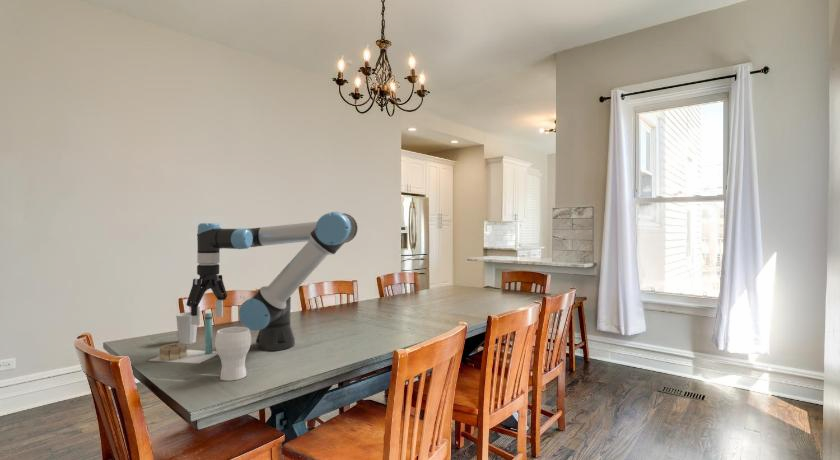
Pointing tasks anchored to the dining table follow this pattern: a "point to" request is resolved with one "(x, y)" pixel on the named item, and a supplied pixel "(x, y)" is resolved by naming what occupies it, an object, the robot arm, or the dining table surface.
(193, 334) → the cup
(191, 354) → the mat
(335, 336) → the dining table surface
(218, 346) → the cup
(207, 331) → the teal marker pen
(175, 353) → the bead
